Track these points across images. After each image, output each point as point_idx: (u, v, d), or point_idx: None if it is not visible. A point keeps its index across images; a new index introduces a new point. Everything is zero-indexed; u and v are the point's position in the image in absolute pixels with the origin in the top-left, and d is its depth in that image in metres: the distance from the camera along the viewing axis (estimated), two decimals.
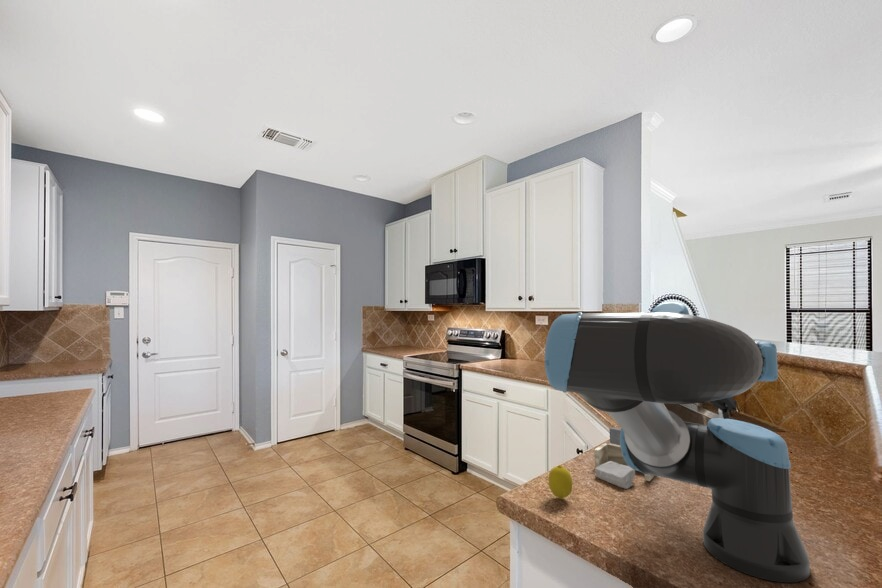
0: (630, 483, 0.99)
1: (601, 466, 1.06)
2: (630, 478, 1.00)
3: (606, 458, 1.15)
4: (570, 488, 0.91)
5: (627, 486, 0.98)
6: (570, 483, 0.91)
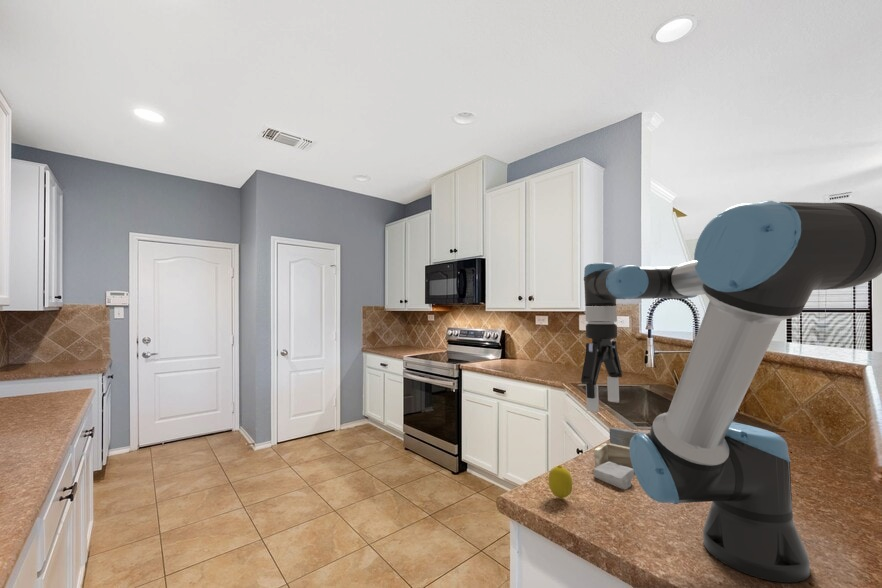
0: (629, 484, 0.99)
1: (600, 467, 1.06)
2: (629, 479, 0.99)
3: (606, 458, 1.15)
4: (570, 488, 0.91)
5: (626, 487, 0.98)
6: (570, 483, 0.91)
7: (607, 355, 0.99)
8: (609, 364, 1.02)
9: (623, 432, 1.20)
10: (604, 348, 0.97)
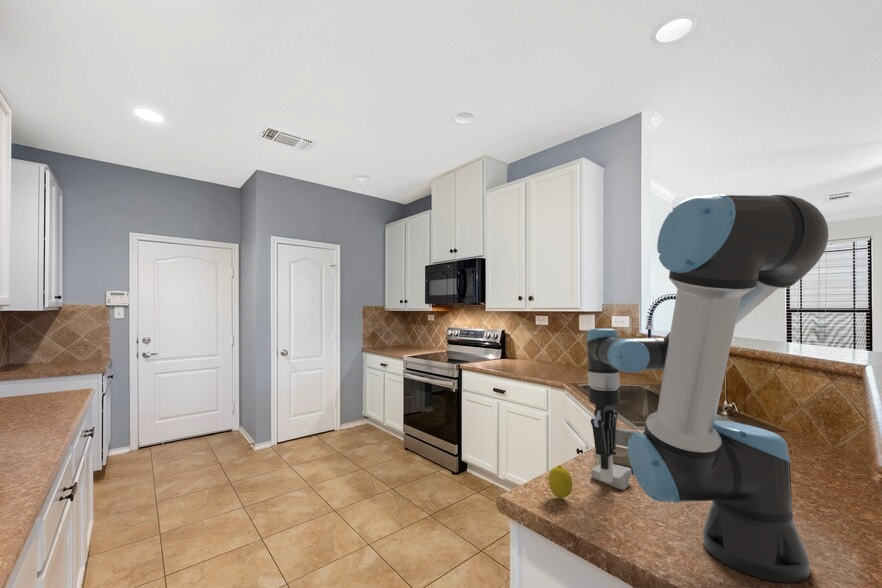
0: (626, 484, 0.99)
1: (597, 467, 1.05)
2: (626, 479, 0.99)
3: None
4: (570, 488, 0.91)
5: (624, 487, 0.98)
6: (570, 483, 0.91)
7: None
8: None
9: (623, 432, 1.20)
10: (607, 416, 0.98)
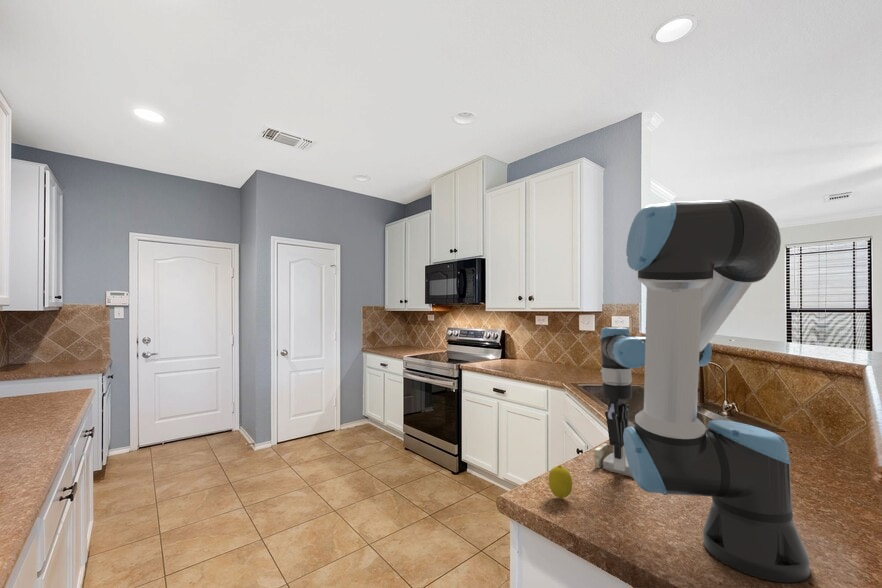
0: None
1: (607, 458, 1.12)
2: None
3: None
4: (570, 488, 0.91)
5: None
6: (570, 483, 0.91)
7: (622, 413, 1.07)
8: None
9: None
10: (620, 409, 1.05)
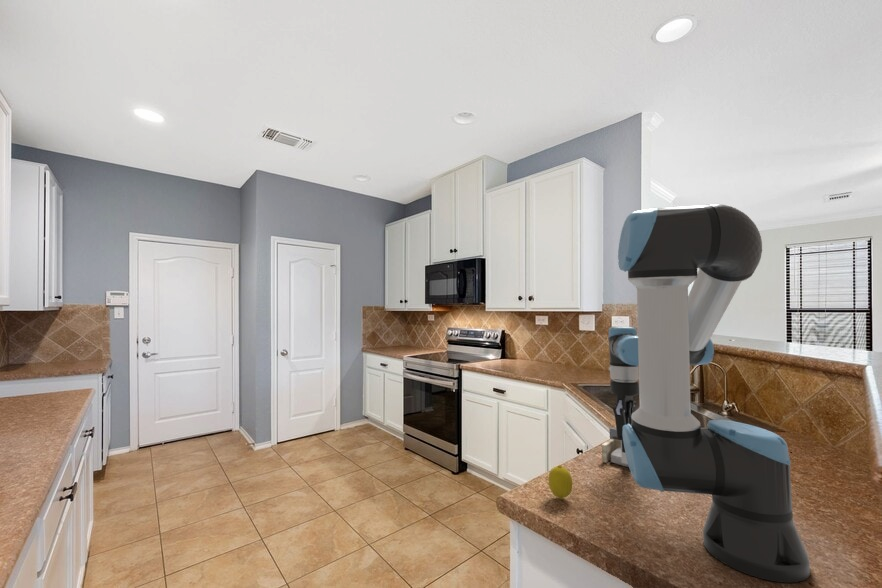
0: None
1: (615, 452, 1.16)
2: None
3: None
4: (570, 488, 0.91)
5: None
6: (570, 483, 0.91)
7: None
8: None
9: None
10: (628, 405, 1.09)
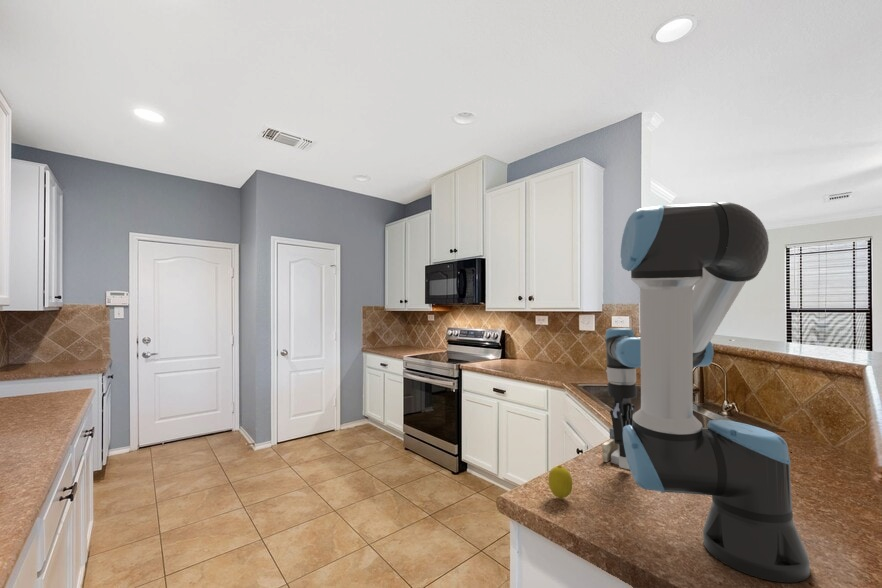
0: None
1: (615, 453, 1.16)
2: None
3: None
4: (570, 488, 0.91)
5: None
6: (570, 483, 0.91)
7: (627, 412, 1.09)
8: None
9: None
10: (625, 408, 1.07)
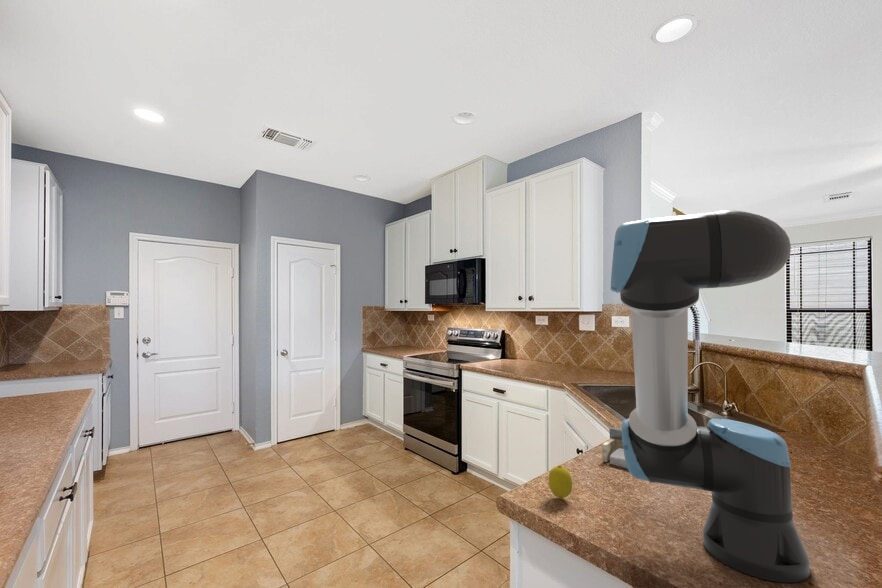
0: None
1: (614, 454, 1.15)
2: None
3: None
4: (570, 488, 0.91)
5: None
6: (570, 483, 0.91)
7: None
8: None
9: None
10: None
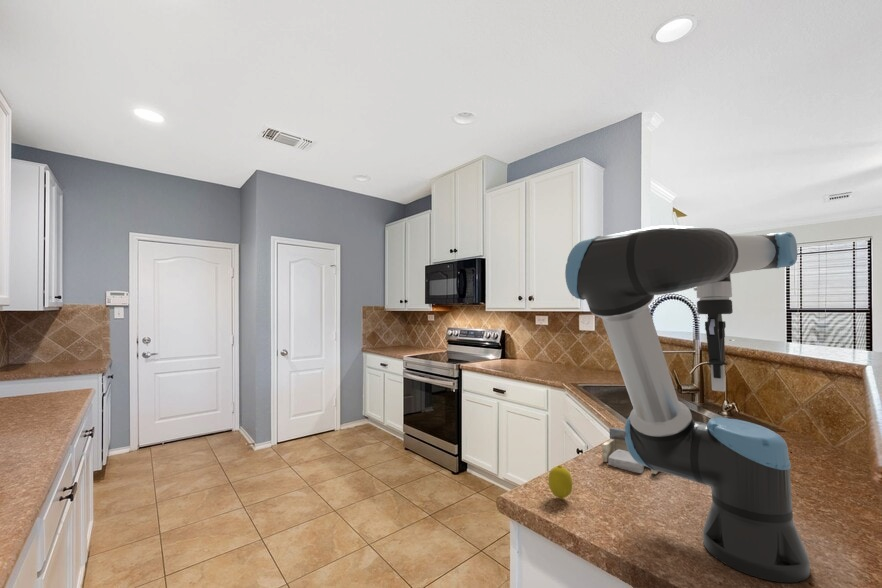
0: (643, 468, 1.09)
1: (612, 455, 1.14)
2: None
3: None
4: (570, 488, 0.91)
5: (642, 471, 1.08)
6: (570, 483, 0.91)
7: None
8: None
9: (623, 432, 1.20)
10: (721, 325, 0.98)
